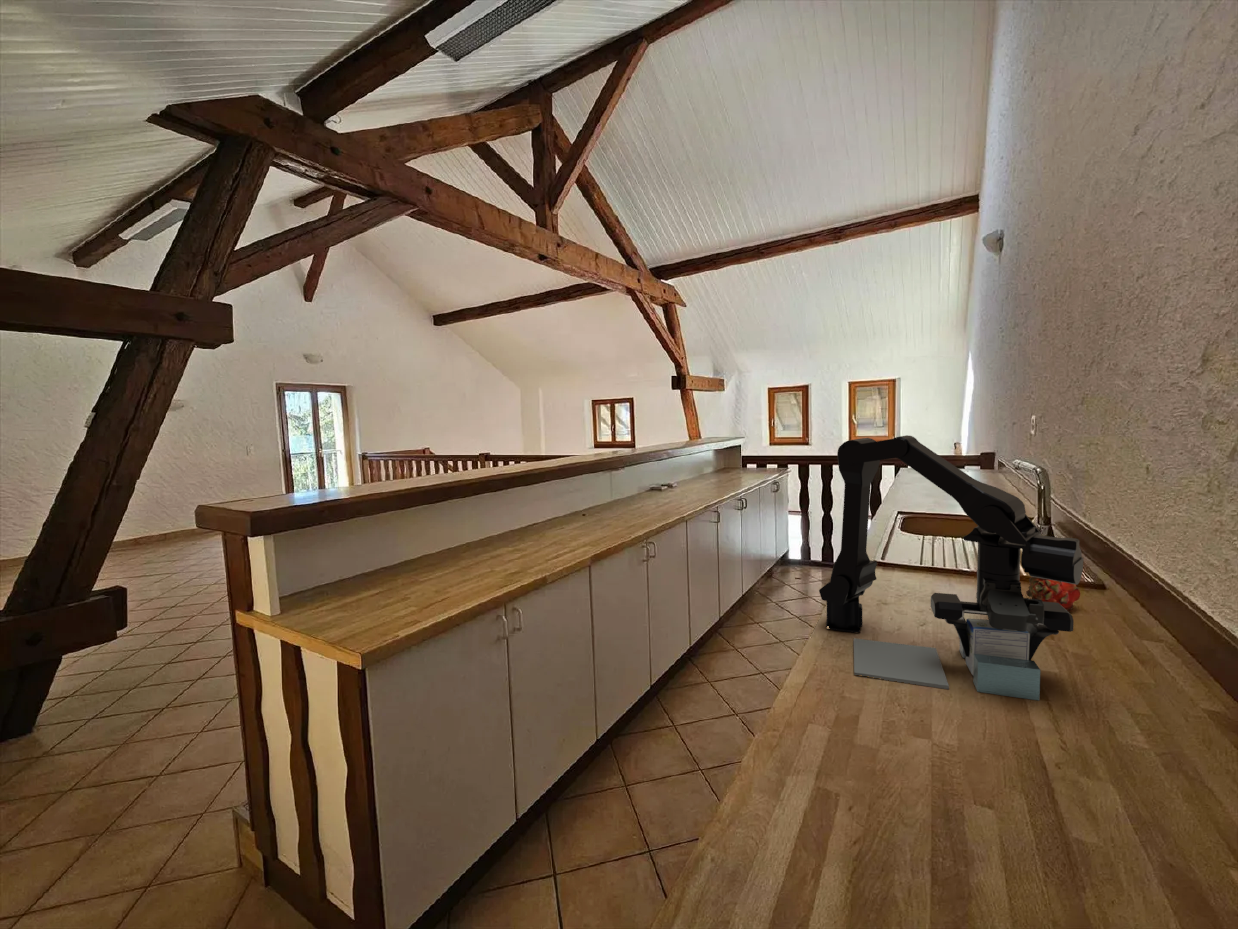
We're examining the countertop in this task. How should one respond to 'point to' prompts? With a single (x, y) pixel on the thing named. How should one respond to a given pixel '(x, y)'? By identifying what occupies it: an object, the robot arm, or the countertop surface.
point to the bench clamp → (1006, 676)
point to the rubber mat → (899, 663)
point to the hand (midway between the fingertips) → (995, 659)
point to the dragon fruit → (1053, 592)
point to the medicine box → (995, 642)
